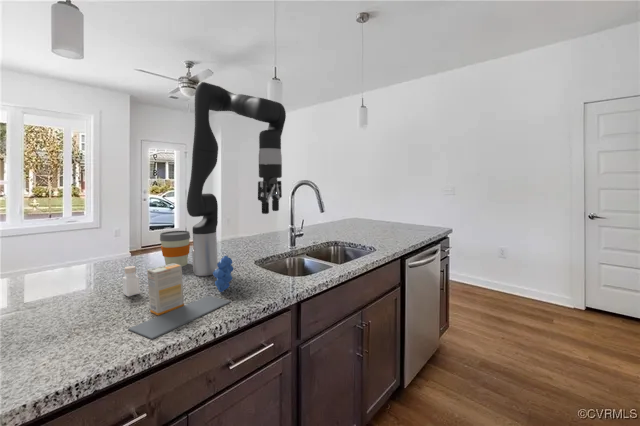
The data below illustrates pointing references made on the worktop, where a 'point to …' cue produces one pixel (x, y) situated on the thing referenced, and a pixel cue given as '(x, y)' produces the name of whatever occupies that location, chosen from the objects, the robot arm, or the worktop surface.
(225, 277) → the grapes
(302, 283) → the worktop surface
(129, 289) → the pepper shaker
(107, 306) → the worktop surface
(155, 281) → the supplement box
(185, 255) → the reusable coffee cup
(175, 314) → the rubber mat
